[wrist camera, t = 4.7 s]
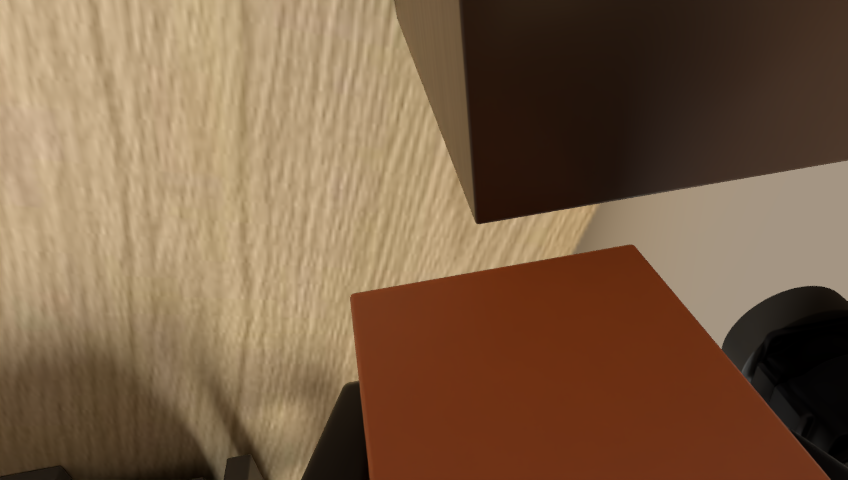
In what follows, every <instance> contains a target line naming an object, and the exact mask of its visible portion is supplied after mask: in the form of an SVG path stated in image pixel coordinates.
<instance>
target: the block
mask: <svg viewBox="0 0 848 480" xmlns="http://www.w3.org/2000/svg"><path fill="white" fill-rule="evenodd" d="M350 303H351V312H352V321H353V330H354V340H355V349H356V358H357V367H358V376H359V386H360V395H361V404H362V413H363V422H364V432H365V441H366V450H367V459H368V468H369V478H370V480H831V479H830V478H829V477H828V476H827V474H826V473H825V472H824V471H823V470H822V468H821V467H820V466H819V465H818V464H817V463H816V461H815V460H814V459H813V458H812V457H811V455H810V454H809V453H808V452H807V451H806V449H805V448H804V447H803V446H802V445H801V444H800V442H799V441H798V440H797V439H796V438H795V436H794V435H793V434H792V433H791V432H790V430H789V429H788V428H787V427H786V426H785V424H784V423H783V422H782V421H781V420H780V419H779V417H778V416H777V415H776V414H775V413H774V411H773V410H772V409H771V408H770V407H769V405H768V404H767V403H766V402H765V401H764V399H763V398H762V397H761V396H760V395H759V394H758V392H757V391H756V390H755V389H754V388H753V386H752V385H751V384H750V383H749V382H748V380H747V379H746V378H745V377H744V376H743V375H742V373H741V372H740V371H739V370H738V369H737V367H736V366H735V365H734V364H733V363H732V361H731V360H730V359H729V358H728V357H727V355H726V354H725V353H724V352H723V351H722V350H721V349H720V347H719V346H718V345H717V344H716V343H715V341H714V340H713V339H712V338H711V336H710V335H709V334H708V333H707V332H706V331H705V329H704V328H703V327H702V326H701V325H700V324H699V322H698V321H697V320H696V319H695V317H694V316H693V315H692V314H691V313H690V311H689V310H688V309H687V308H686V307H685V306H684V304H682V302H681V301H680V300H679V298H678V297H677V296H676V295H675V294H674V292H673V291H672V290H671V289H670V288H669V286H667V284H666V283H665V282H664V281H663V279H662V278H661V277H660V276H659V275H658V273H657V272H656V271H655V270H654V269H653V267H652V266H651V265H650V264H649V263H648V261H647V260H645V258H644V257H643V256H642V254H641V253H640V252H639V251H638V250H637V248H636V247H635V246H634V245H624V246H619V247H613V248H608V249H602V250H596V251H590V252H585V253H579V254H574V255H568V256H562V257H557V258H551V259H545V260H540V261H534V262H529V263H523V264H517V265H512V266H506V267H500V268H495V269H489V270H483V271H478V272H472V273H467V274H461V275H455V276H450V277H444V278H438V279H433V280H427V281H422V282H416V283H410V284H405V285H399V286H393V287H388V288H382V289H377V290H371V291H365V292H360V293H354V294H352V295H351V297H350Z"/></svg>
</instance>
